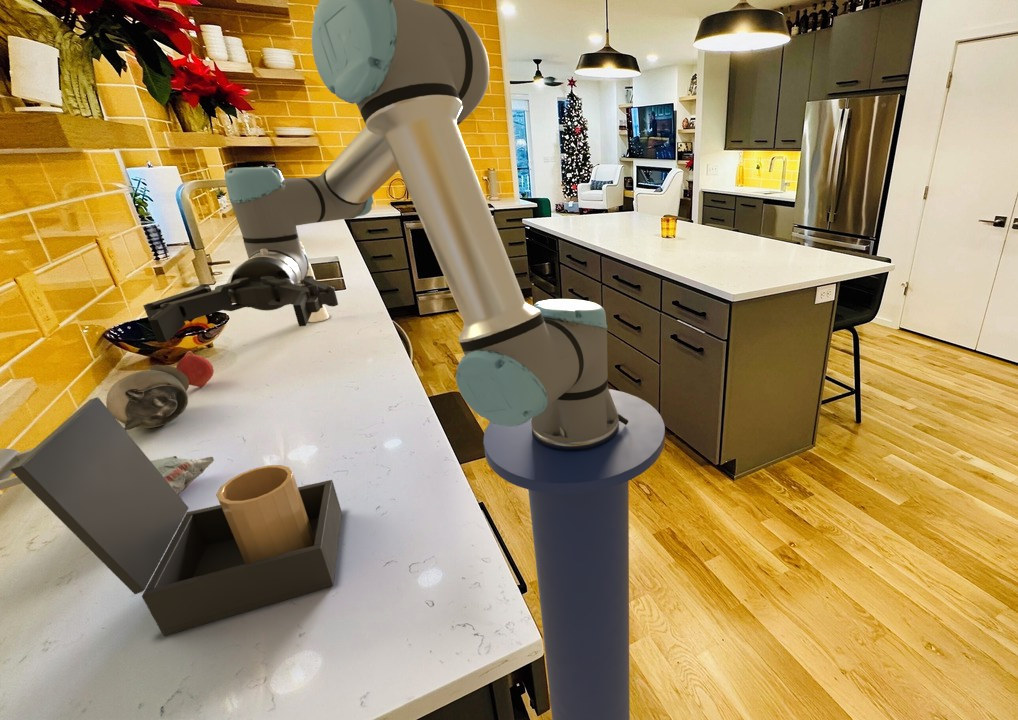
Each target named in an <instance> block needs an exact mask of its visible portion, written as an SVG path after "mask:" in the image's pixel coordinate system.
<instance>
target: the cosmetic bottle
mask: <svg viewBox="0 0 1018 720" xmlns="http://www.w3.org/2000/svg"><path fill="white" fill-rule="evenodd" d="M299 242H300V245H301V248H302V249H303V250H304V252H305V253H306V250H305V249H306V248H305V246H304V244H303V242H302V241H299ZM306 254H307V253H306ZM314 273H315V272H314V270H313V268H312V265H311V263H310V262H309V269H308V273H307V276H313V277H314V279H315V280H316V277H315V274H314ZM322 306H323V308H320V310H319V311H318V312H313V313H312V314H311V316H310V318H309V320H308V323H317V322H323V321H326V320H327V319H329V318H330V315H329V314H328V311H327V309H326V305H325V304H323V305H322Z"/></svg>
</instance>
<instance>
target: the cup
mask: <svg viewBox="0 0 1018 720" xmlns="http://www.w3.org/2000/svg"><path fill="white" fill-rule="evenodd" d="M298 487H299V486H298V484H297V481H296V478H295V474H294V472H293V471H292V469H291V468H290V467H289V466H286V465H282V464H269V465H264V466H258V467H254V468H252V469H249V470H246V471H244V472H241V473H239V474H237V475H235V476H233V477H232V478H230V479H228V480H227V481H226V482H225V483H224V484H222V485H221V486H220V487H219V489H218V491H217V493H216V498H217V500H218V503H219V505H221V508H222V510H223V512H224V515H225V517H226V520H227V522H228V524H229V527H230V529H231V531H232V534H233V536H234V539H235V541H236V543H237V546H238V548H239V551H240V553H241V555H242V558H243V560H244V562H245V564H247V563H251V562H255V561H258V560H262V559H266V558H270V557H273V556H277V555H281V554H285V553H288V552H292V551H296V550H300V549H303V548H307V547H311V546H314V542H315V537H314V534H313V531H312V528H311V525H310V522H309V519H308V516H307V513H306V510H305V507H304V504H303V501H302V498H301V495H300V492H299V490H298Z"/></svg>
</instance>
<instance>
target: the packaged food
mask: <svg viewBox="0 0 1018 720" xmlns="http://www.w3.org/2000/svg"><path fill="white" fill-rule="evenodd" d="M150 461H151V462H152V464H153V465H154V466H155V467H156V468H157V470H158V471H159V472H160V473H161V475H162V476H163V477H164V478H165V479H166V481H167V482H168V483H169V484H170V486H171V487H172V488H173V489H174V490H175V492H176V493H177V494H178V495H179V494H180V493H182V492H184V490H186V489H187V488H188V486H189V485H191V483H193V482H194V481H195V480H196V479H197V478H198V477H200V476H201V475H202V474H203V473H204V472H205V471H206V469H207V468H209V466H210V465H211V464H213V462H214V461H215V459H214V457H213V456H208V457H204V458H198V459H196V458H194V459H193V458H179V457H177V455H171V456H168V457H167V456H166V457H163V458H157V459H153V460H150Z"/></svg>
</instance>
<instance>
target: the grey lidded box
mask: <svg viewBox="0 0 1018 720" xmlns="http://www.w3.org/2000/svg"><path fill="white" fill-rule="evenodd" d="M297 487H298V490H299V492H300V495H301V498H302V501H303V504H304V507H305V510H306V513H307V516H308V519H309V522H310V525H311V528H312V531H313V534H314V537H315V542H314V546H311V547H307V548H303V549H300V550H296V551H292V552H288V553H285V554H281V555H277V556H273V557H270V558H266V559H262V560H258V561H255V562H251V563H247V564H245V562H244V560H243V558H242V555H241V553H240V551H239V548H238V546H237V543H236V541H235V539H234V536H233V534H232V531H231V529H230V527H229V524H228V522H227V520H226V517H225V515H224V512H223V510H222V508H221V505H220V504H217V505H213V506H208V507H205V508H200V509H195V510H191V511H187V512H186V514H185V516H184V518H183V519H182V521H181V523H180V525H179V527H178V529H177V531H176V532H175V534H174V536H173V538H172V540H171V542H170V544H169V545H168V547H167V549H166V551H165V553H164V555H163V557H162V558H161V560H160V562H159V564H158V566H157V568H156V570H155V571H154V573H153V575H152V577H151V579H150V581H149V582H148V584H147V586H146V588H145V590H144V591H143V592H142V595H141V598H142V599H143V601H144V603H145V605H146V607H147V609H148V611H149V612H150V614H151V616H152V618H153V620H154V621H155V623H156V625H157V628H158V629H159V630H160V632H161V634H162V636H163V637H165V636H169V635H172V634H176V633H178V632H182V631H185V630H188V629H192V628H196V627H199V626H203V625H205V624H209V623H213V622H216V621H219V620H224V619H225V618H229V617H233V616H236V615H239V614H243V613H247V612H250V611H253V610H256V609H259V608H263V607H266V606H270V605H273V604H276V603H279V602H283V601H287V600H290V599H292V598H297V597H300V596H304V595H307V594H311V593H313V592H317V591H321V590H323V589H327V588H330V587H333V586H334V583H335V574H336V567H337V559H338V550H339V542H340V534H341V526H342V519H343V511H342V507H341V504H340V501H339V499H338V495H337V491H336V488H335V485H334V481H333V479H329V480H325V481H319V482H315V483H312V484H305V485H302V486H297Z"/></svg>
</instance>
